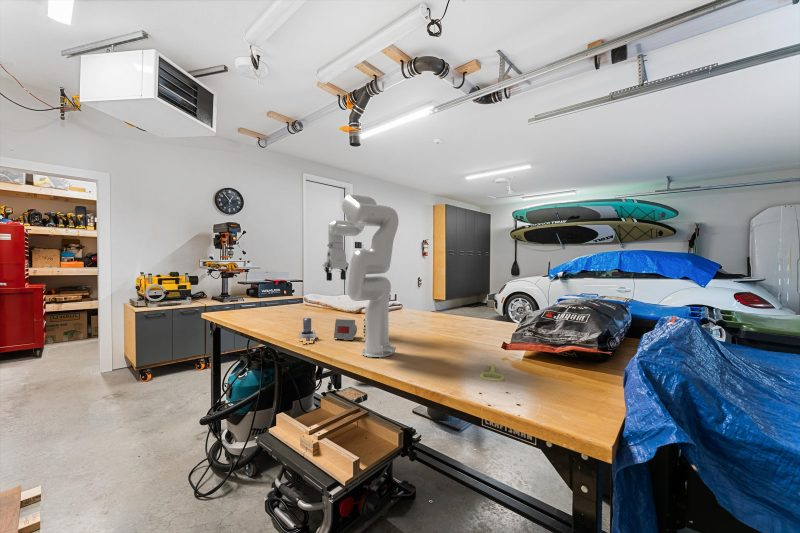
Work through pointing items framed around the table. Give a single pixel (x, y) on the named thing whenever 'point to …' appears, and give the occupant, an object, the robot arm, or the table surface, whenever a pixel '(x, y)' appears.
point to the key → (492, 374)
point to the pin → (307, 326)
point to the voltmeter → (345, 329)
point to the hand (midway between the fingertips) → (336, 280)
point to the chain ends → (307, 335)
